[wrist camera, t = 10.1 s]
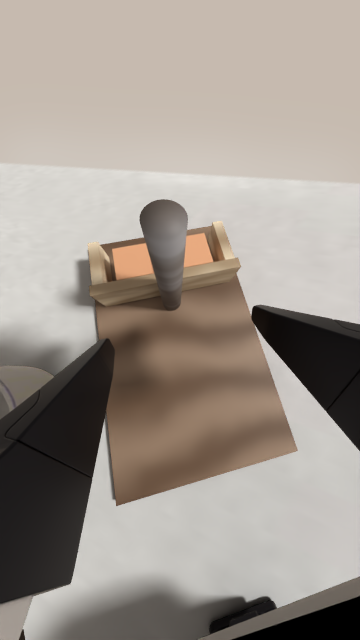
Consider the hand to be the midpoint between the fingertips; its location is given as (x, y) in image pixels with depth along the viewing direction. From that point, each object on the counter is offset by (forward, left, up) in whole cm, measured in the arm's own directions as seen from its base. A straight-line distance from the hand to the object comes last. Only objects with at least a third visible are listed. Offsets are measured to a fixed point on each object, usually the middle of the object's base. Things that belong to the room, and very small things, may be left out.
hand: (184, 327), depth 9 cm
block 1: (+10, +3, -10) cm, 14 cm away
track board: (+1, 0, -10) cm, 10 cm away
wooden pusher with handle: (+9, 0, -9) cm, 13 cm away
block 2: (+10, -4, -10) cm, 14 cm away
